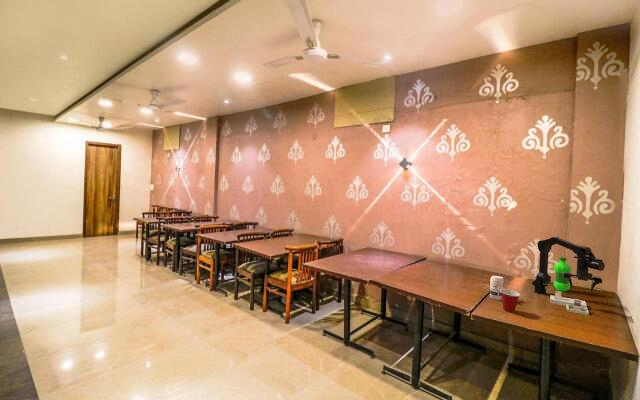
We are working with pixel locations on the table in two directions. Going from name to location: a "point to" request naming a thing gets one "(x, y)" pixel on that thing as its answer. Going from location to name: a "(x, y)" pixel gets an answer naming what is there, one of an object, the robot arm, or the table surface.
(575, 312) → the parts tray
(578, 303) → the fuse
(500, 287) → the supplement can
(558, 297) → the fuse
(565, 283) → the plastic bottle
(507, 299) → the plastic cup
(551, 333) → the table surface
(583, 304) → the fuse block
